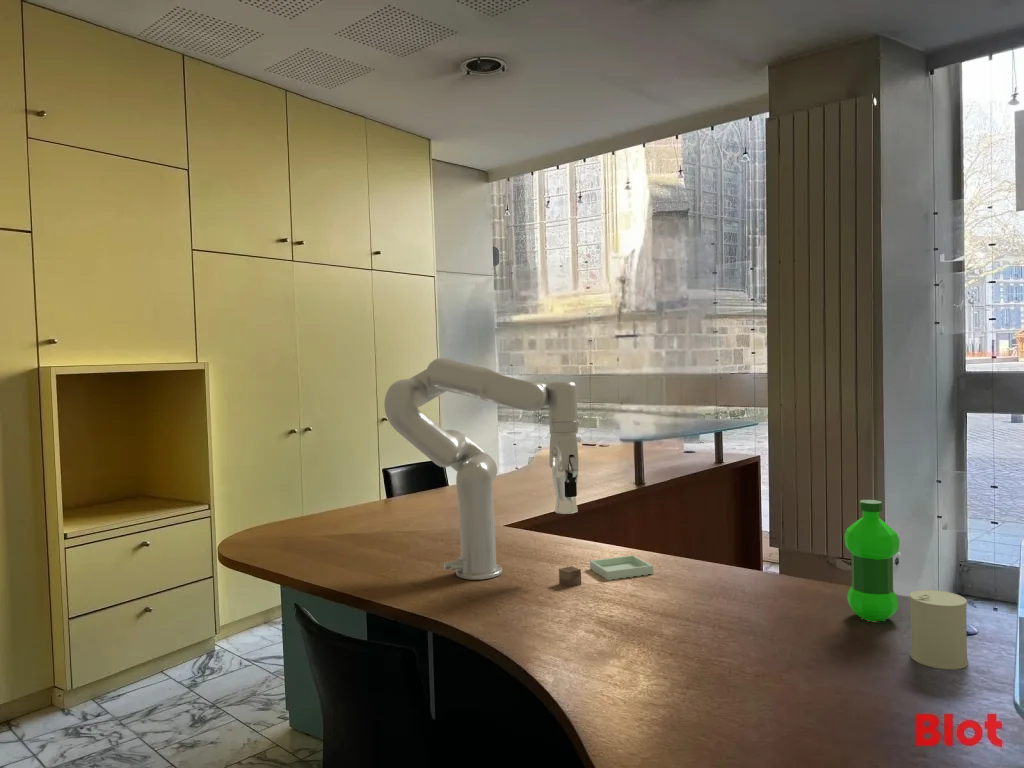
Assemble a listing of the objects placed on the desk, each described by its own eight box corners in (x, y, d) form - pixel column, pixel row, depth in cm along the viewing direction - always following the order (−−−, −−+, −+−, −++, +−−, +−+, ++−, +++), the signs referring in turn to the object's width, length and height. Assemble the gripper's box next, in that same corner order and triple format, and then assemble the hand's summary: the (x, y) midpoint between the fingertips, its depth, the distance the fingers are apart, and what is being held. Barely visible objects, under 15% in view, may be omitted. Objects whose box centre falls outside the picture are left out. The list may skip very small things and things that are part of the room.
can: (899, 651, 139) (898, 588, 139) (945, 647, 140) (944, 585, 140) (931, 671, 130) (930, 604, 130) (980, 667, 131) (979, 601, 130)
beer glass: (577, 514, 192) (576, 457, 191) (551, 514, 193) (549, 457, 193) (580, 508, 199) (579, 453, 198) (555, 508, 200) (553, 453, 200)
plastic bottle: (898, 629, 149) (896, 508, 149) (842, 621, 155) (840, 504, 154) (902, 614, 158) (900, 499, 157) (849, 607, 164) (847, 495, 163)
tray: (607, 580, 189) (607, 571, 189) (590, 569, 200) (589, 560, 200) (653, 574, 193) (653, 565, 193) (633, 563, 204) (633, 555, 204)
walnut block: (568, 588, 184) (568, 572, 184) (559, 584, 188) (558, 568, 188) (581, 585, 187) (580, 569, 186) (571, 581, 190) (571, 566, 190)
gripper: (539, 426, 202) (541, 490, 203) (562, 431, 186) (564, 501, 187) (564, 424, 205) (566, 488, 205) (589, 429, 188) (591, 499, 189)
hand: (565, 494), depth 196 cm, fingers closed on beer glass, 6 cm apart
